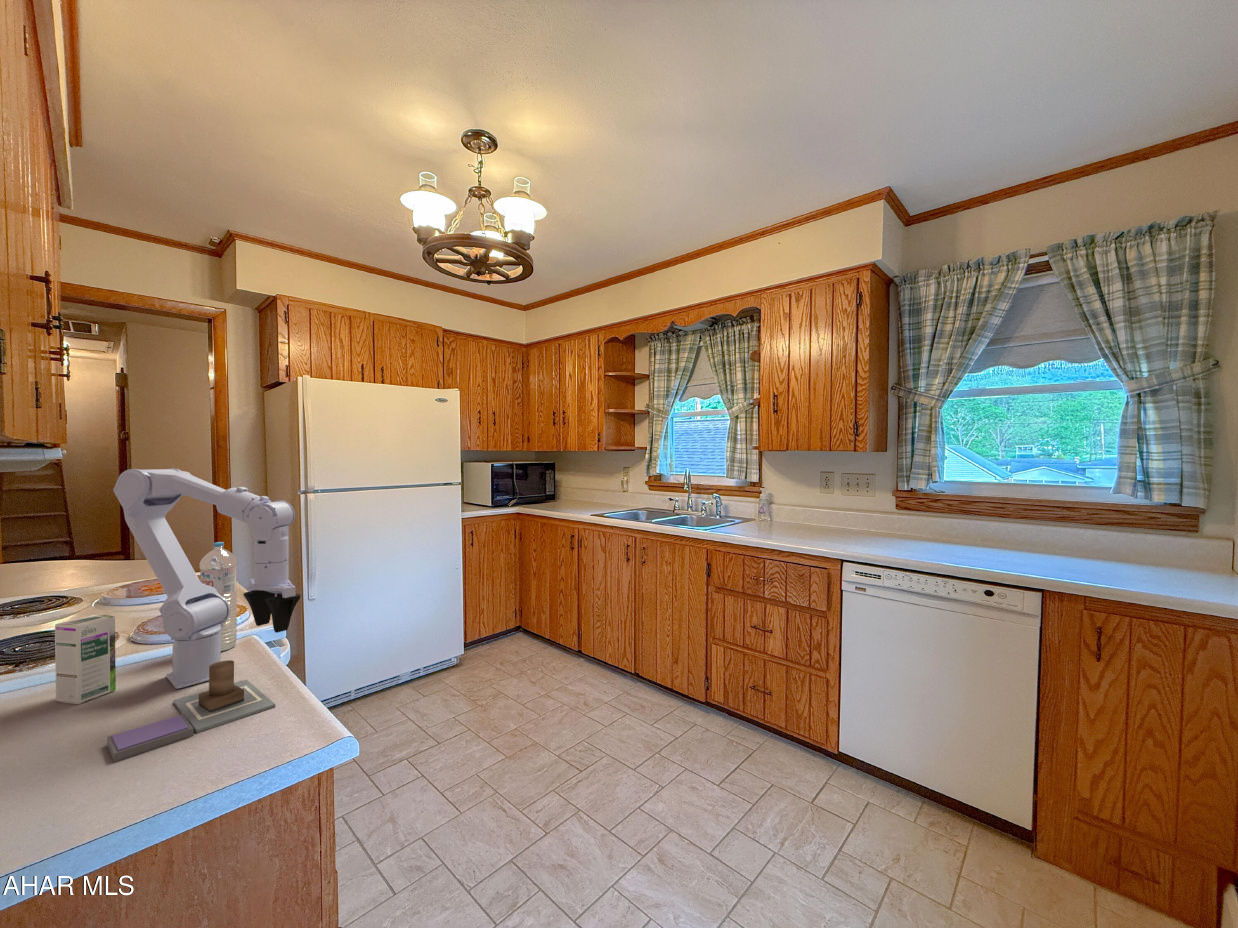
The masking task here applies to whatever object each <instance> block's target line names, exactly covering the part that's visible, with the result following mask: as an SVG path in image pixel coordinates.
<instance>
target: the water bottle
mask: <svg viewBox="0 0 1238 928" xmlns="http://www.w3.org/2000/svg"><path fill="white" fill-rule="evenodd" d="M224 547H225V542H223V541H217V542H213V549H212V550H211V551H209V552H207V553H206V554H205V555H204V556H203V557H202V558H201V559H200V562H199V569H200V571H199V572H200V573H199V575H200V576H199V580H200V582H201V583H203V584H206V585H208V586H211V587H214V588H215V589H216V590H217V592H218V593H219V595H221V596H222V597H223V598H225V599H226V600H227V601H228V603H229V605H230V610H231V611H230V615H229V618H228V619H227V620H226V621H225V622H224V623H223V628H222V629H221V653H222V652H226V651H228V650H231V649H233V648H234V647H235V646H236V644H237V635H238V634H237V627H238V625H237V624H238V623H237V618H238V616H237V609H238V607H237V606H238V605H237V604H238V603H237V601H238V599H237V597H238V596H237V595H238V591H237V565H238V558H237V557H236V556H235V554H233V553H232V552H231V551H229V550H228V549H225V548H224Z"/></svg>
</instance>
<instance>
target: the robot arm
mask: <svg viewBox="0 0 1238 928" xmlns="http://www.w3.org/2000/svg"><path fill="white" fill-rule="evenodd" d="M248 490H249V489H248V488H247V487H245V486H238V487H231V488H228V489H224V488H223V487H220V486H218V485H215V484H213V483H210V482H209V481H206V480H203V479H202V478H199V477H197V476H194V475H192V474H191V472H188V471H185V470H184V471H183V470H180V469H178V468H173V467H172V468H167V469H165V468H164V469H163V468H161V469H160V468H159V469H158V468H157V469H151V468H150V469H139V468H138V469H137V468H129V469H126V470H125V471H123V472H122V473H120V475H119V476H118V478H117V480H116V483H115V485H114V487H113V489H112V492H113V493H114V495H115V496H116V498H117V500H118V502H119V504H120V505H121V507H122V509H123V515H124V520H125V523H126V525H127V526H128V528H129V530H130V532H131V533H132V535H133V537H134V539H135V541H136V543H137V544H138V546H139V548H140V550H141V552H142V554H143V555H144V557H145V559H146V561H147V563H148V565H149V566H150V568H151V570H152V571H153V573H154V575H155V577H156V578H157V580H158V582H159V584H160V585H161V588H162V590H163V591H164V593H165V594H166V596H167V597H166V599H164V600H165V601H163V603H162V605H161V607H160V608H159V609H158V611H159V613H160V615H161V617H162V626H163V627H162V628H163V630H164V632H165V633H166V634H167V636H169V637H170V640H171V641H173V643H172V657H171V658H172V664H171V665H172V666H171V667H172V671H171V672H168V673H165V677H166V678H167V680H169V682H170V683H171V685H172V686H173V687H174V688H175V689H178V690H179V689H183V688H186V687H190V686H194V685H197V684H200V683H205V682H209V666H210V665H212V664H214V663H217V662H220V661H222V660H221V659H222V658H221V653H222V652H221V629H222V628H223V623H224V622H225V621H226V620H227V619H228V618H229V615H230V611H231V610H230V605H229V603H228V601H227V600H226V599H225V598H223V597H222V596H221V595H219V593H218V592H217V590H216V589H215V588H214V587H211V586H208V585H206V584H203V583H201V582H200V577H199V576H198V575H197V573H196V571H195V569H194V567H193V566H192V564H191V562H190V560H189V558H188V557H187V554H186V553H185V552H184V551H185V550H183V548H182V546H181V544H180V543H179V540H178V539H177V537H176V535H175V534H174V532H173V530H172V529H171V527H170V525H169V523H168V521H167V520H166V516H167V513H168V512H170V511H171V510H172V509H173V508H174V506H175V505H176V504H177V503H178V502H179V500H180V499H181V498H182V496H186V497H190V498H192V499H195V500H198V501H202V502H205V503H208V504H212V505H215V506H216V510H217V512H218V513H219V514H221V515H224V516H226V517H230V518H232V519H235V520H238V521H240V522H243V523H246V525H247V526H248V527H249V529H250V531H251V537H252V538H253V541H254V542H253V544H254V545H253V547H254V548H253V549H254V550H253V551H254V552H253V553H254V555H253V557H254V558H253V559H254V562H253V564H254V566H253V567H254V568H253V573H254V574H253V575H254V576H253V578H251V579H250V578H249V585H247V591H246V592H243V595H242V596H243V597H244V598H245V600H246V601H247V603H248V605H249V607H250V610H251V612H252V616H253V620H254V623H255V625H256V627H261V626H263V625H268V624H270V621H272V628H273V630H274V633H281V632H285V631H288V630H289V626H290V622H291V618H292V615H293V613H294V610H295V608H296V605H297V604H298V602H299V601H300V600H301V594H299V593H296V586H295V585H293V584H292V582H291V581H290V580H289V573H290V572H289V571H290V570H289V561H290V560H289V558H290V557H289V556H290V555H289V550H290V549H289V540H290V539H289V537H290V536H289V526H291V525H292V524H293V523H294V521H295V519H296V511H295V509H294V507H293V506H292V505H291V504H290V503H289V502H287V501H286V500H282V499H279V500H274V501H272V500H270V497H269V496H266V495H261V496H260V495H256V494H254V493H251V492H249V491H248Z"/></svg>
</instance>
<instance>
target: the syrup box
mask: <svg viewBox="0 0 1238 928" xmlns="http://www.w3.org/2000/svg"><path fill="white" fill-rule="evenodd" d="M54 645H55V646H54V648H55V649H54V651H55V653H54V654H55V655H54V656H55V661H54V662H55V663H54V664H55V701H56V702H59V703H64V704H73V705H81V704H83V703H84V702H87V701H91V700H92V699H96V698H98V697H101V696H104V695H106V694H110V693H113V692H115V691H116V688H117V684H116V682H117V679H116V676H117V675H116V671H117V670H116V668H117V667H116V616H114V615H109V614H91V615H89V616H84V617H79V618H77V619H76V618H75V619H71V620H68V621H63V622H59V623H55V625H54Z"/></svg>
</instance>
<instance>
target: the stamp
mask: <svg viewBox="0 0 1238 928" xmlns="http://www.w3.org/2000/svg"><path fill="white" fill-rule="evenodd" d="M234 683H235V661H234V660H221V661H220V662H217V663H214V664H212V665H210V666H209V681H208V690H209V691H207V690H205V691H206V692H204V691H202V692H203V693H200V692H199V693H200V694H199V706H201V707H202V708H204V709H205V710H207V711H209V712H210V713H211V712H214V711H216V710H219V709H222V708H225V707H228V706H231V705H234V704H236V703H239V702H242V701H244V690H243V689H241V688H240V687H238V686H236V685H234Z"/></svg>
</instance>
